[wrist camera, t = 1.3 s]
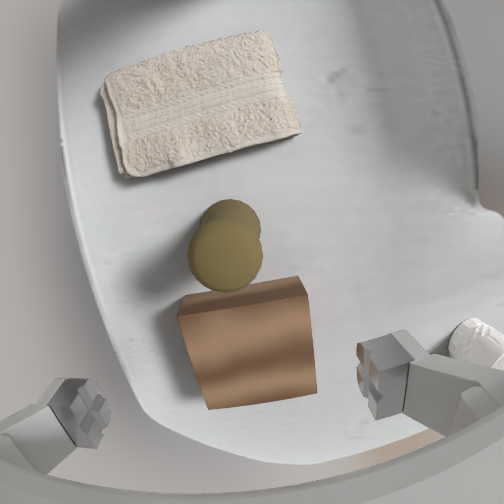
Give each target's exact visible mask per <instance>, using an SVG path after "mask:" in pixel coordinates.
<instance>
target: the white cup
mask: <svg viewBox="0 0 504 504" xmlns="http://www.w3.org/2000/svg"><path fill="white" fill-rule="evenodd" d="M448 350H449V354H450V356H451V357H452V358H454V359H458V360H462V361H466V362H470V363H474V364H478V365H482V366H486V367H491V368H495V369H499V370H503V371H504V335H503V334H502V333H500V332H498V331H497V330H495V329H494V328H492V327H490V326H488V325H486V324H484V323H483V322H482V321H480V320H479V319H477V318H469V319H467V320H465V321H464V322H462V323H461V324H460V325H459V326H458V327H457V328H456V329H455V331H454V333H453V335H452V336H451V338H450V341H449V346H448Z"/></svg>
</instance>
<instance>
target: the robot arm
mask: <svg viewBox="0 0 504 504" xmlns="http://www.w3.org/2000/svg"><path fill="white" fill-rule="evenodd" d="M357 357H358V359H359V360H360V363H359V365H358V366H357V379H358V385H359V388H360V391H361V393H362V395H363V396H364V397H366V398H368V407H369V409H370V411H371V413H372V415H373V417H374V418H375V420H379V419H383V418H386V417H389V416H392V415H396V414H399V413H402V412H403V414H405V415H407V416H408V417H410V418H412V419H414V420H416V421H418V422H419V423H421V424H423V425H425V426H427V427H429V428H431V429H433V430H434V431H436V432H438V433H440V434H442V435H444V436H446V438H443V439H441V440H439V441H437V442H434V443H432V444H430V445H427V446H425V447H423V448H420V449H418V450H415V451H413V452H411V453H408V454H405V455H402V456H400V457H397V458H394V459H391V460H389V461H386V462H383V463H380V464H377V465H374V466H370V467H367V468H364V469H361V470H357V471H353V472H350V473H346V474H342V475H338V476H334V477H330V478H325V479H321V480H316V481H311V482H307V483H301V484H296V485H290V486H283V487H277V488H270V489H261V490H253V491H241V492H228V493H203V494H183V493H181V494H180V493H155V492H142V491H133V490H123V489H115V488H109V487H102V486H96V485H90V484H85V483H80V482H75V481H70V480H66V479H61V478H58V477H54V476H50V475H47V474H48V473H49V472H50V471H51V470H52V469H54V468H55V467H56V466H57V465H58V464H59V463H60V462H61V461H63V460H64V459H65V458H66V457H67V456H68V455H70V454H71V453H72V452H73V451H74V450H75V449H76V448H77V447H81V448H92V449H97V448H98V446H99V443H100V441H101V439H102V437H103V433H102V430H103V429H104V428H106V427H107V426H108V424H109V421H110V408H109V405H108V403H107V401H106V400H105V399H104V398H103V397H102V396H101V395H99V393H100V388H99V386H98V384H97V382H96V381H95V380H93V379H79V378H57V379H55V380H54V381H53V382H52V383H51V385H50V386H49V387H48V388H47V390H46V391H45V392H44V393H43V395H42V396H41V397H40V398H39V400H38V401H37V402H36V404H31V405H29V406H27V407H25V408H24V409H22V410H20V411H18V412H16V413H14V414H12V415H11V416H9V417H7V418H5V419H3V420H1V421H0V504H504V371H503V370H499V369H495V368H491V367H486V366H482V365H478V364H474V363H470V362H466V361H462V360H458V359H454V358H450V357H446V356H442V355H439V354H432V355H430V354H429V353H428V352H427V351H426V350H425V349H424V348H423V347H422V346H421V345H420V343H419V342H418V341H417V340H416V339H415V338H414V337H413V336H412V335H411V334H410V333H409V332H408V331H407V330H404V329H402V330H399V331H396V332H393V333H390V334H388V335H385V336H382V337H378V338H375V339H371V340H368V341H364V342H361V343H357Z"/></svg>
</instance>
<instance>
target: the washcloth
mask: <svg viewBox="0 0 504 504" xmlns="http://www.w3.org/2000/svg"><path fill="white" fill-rule="evenodd" d="M279 60H280V59H278V54H277V52H276V50H275V47H274V45H273V41H272V38H271V36H270V35H269V33H267V32H265V31H263V32H260V31H256V32H255V33H244V34H240V35H236V36H230V37H227V38H225V39H222V38H219V39H217V40H214V41H210V42H206V43H201V44H198V45H193V46H187V47H186V48H182V49H179V50H176V51H172V52H169V53H165V54H163V55H160V56H158V57H155V58H152V59H148V60H146V61H143V62H140V63H139V64H134V65H131V66H129V67H125V68H123V69H119V70H118V71H116V72H113V73H110V75H108V76H107V77H105V83H104V84H103V86H102V88H101V90H100V96H101V97H102V99H103V100H104V104H105V108H106V113H107V120H108V125H109V130H110V135H111V140H112V145H113V150H114V154H115V158H116V162H117V166H118V172H119V174H123V176H124V177H125V178H127V179H129V178H135V177H146V176H149V175H152V174H155V173H159V172H161V171H165V170H168V169H172V168H177V167H180V166H183V165H188V164H191V163H195V162H198V161H201V160H204V159H208V158H210V157H214V156H218V155H221V154H225V153H230V152H233V151H236V150H239V149H243V148H246V147H250V146H255V145H259V144H265V143H269V142H274V141H279V140H283V139H286V138H291V137H294V136H297V135H300V134H301V131H300V127H301V126H300V124H299V122H298V118H297V116H296V112H295V109H294V107H293V105H292V103H291V101H290V99H289V97H288V96H287V93H286V90H285V86H284V84H283V80H282V77H281V74H282V69H281V66H280V62H279Z"/></svg>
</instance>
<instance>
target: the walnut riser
mask: <svg viewBox="0 0 504 504" xmlns="http://www.w3.org/2000/svg"><path fill="white" fill-rule="evenodd" d="M177 319H178V322H179V325H180V329H181V332H182V335H183V338H184V341H185V345H186V348H187V351H188V354H189V357H190V360H191V363H192V366H193V369H194V372H195V375H196V377H197V380H198V383H199V386H200V389H201V391H202V394H203V397H204V400H205V402H206V405H207V408H208V410H211V409H221V408H230V407H238V406H246V405H253V404H260V403H267V402H273V401H279V400H285V399H290V398H295V397H300V396H305V395H310V394H315V393H317V383H316V371H315V360H314V349H313V339H312V329H311V319H310V310H309V301H308V294H307V292H306V290H305V288H304V286H303V284H302V282H301V280H300V278H299V276H295V277H289V278H284V279H278V280H273V281H267V282H262V283H256V284H250V285H247V286H246V287H244V288H242V289H240V290H237V291H234V292H226V293H224V292H217V291H209V292H203V293H196V294H190V295H185V298H184V300H183V303H182V305H181V307H180V310H179V312H178V315H177Z"/></svg>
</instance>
